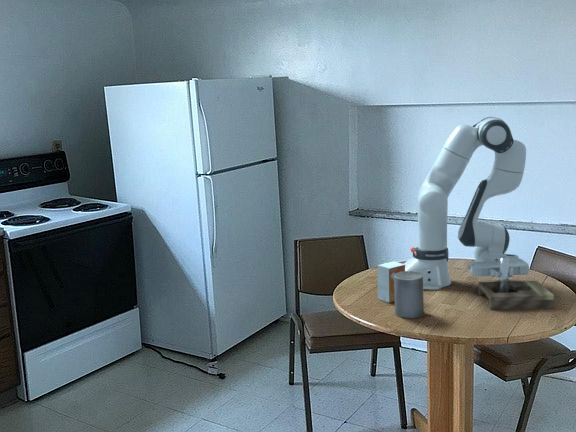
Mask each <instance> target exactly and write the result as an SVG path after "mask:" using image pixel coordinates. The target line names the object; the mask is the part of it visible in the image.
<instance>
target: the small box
mask: <svg viewBox="0 0 576 432" xmlns="http://www.w3.org/2000/svg"><path fill="white" fill-rule="evenodd" d="M404 271H405V264H404V263H401V262H398V261H394V260H393V261H389V262H385V263H382V264H381V263H380V264H378V265H377V300H381V301H383V302H385V303H393V302H394V303H395V291H394V275H395V274H396V273H399V272H404Z"/></svg>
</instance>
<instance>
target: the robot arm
mask: <svg viewBox="0 0 576 432" xmlns="http://www.w3.org/2000/svg"><path fill="white" fill-rule="evenodd" d="M481 146H484V147H485V148H487V149H489V150H492V151H493V152H494V162H493V166H492V168H491V171H490V173H489V175H488V176H487V177H486V179H482V180H481V181H480V183H479V184H478V186H477V188H476V190H475V192H474V194H473V197H472V199H471V201H470V203H469V207H468V209H467V211H466V214H465V216H464V218H463V220H462V222H461V224H460V226H459V229H458V231H457V238H458V240H459V242H460V243H461V245H463V246H464V247H469V248H471V247H472V248H474V247H475V249H474V251H473V255H474V256H473V257H474V260H475V261H473V262H471V263H470V264H467V266H466V269H468V270H470V274H471V276H472V277H494V278H500V277H501V276H500V274H501V273H500V257H509V278H510V277H511V278H512V277H514V276H523V275H524V276H525V275H529V272H530V265H529V263H528V262H526V261H525V260H524V259H523V258H519V255H518V254H517V255H516V254H508V253H506V252H507V250H508V248H509V245H510V241H511V240H510V234H509V231H508V230H507V227H506V226H505V225H503V224H498V223H493V222H492V223H489V222H484V221H478V219H479V217H480V215H481V212H482V210H483V208H484V205H485V203H486V202H487V201H488V200H489V199H491V198H494V197H496V196H501V195H506V194H509V193H512V192H514V191H516V190H517V188H518V187H520V185H521V182H522V180H523V176H524V172H525V167H526V159H527V148H526V145H525V144H524V143H523V142H522V141H520V140H517V139H514V138H513V134H512V131H511V129H510V126H509V125H508V123H506V122H505V120H503V119H501V118H499V117H494V116H488V117H484V118H483V119H481V120H480V121H478V122H477V123H475V124H474V125H469V124H459V125H457V126H456V127H455V128H454V129H453V130H452V132H451V133H450V135H449V136H448V137H447V139H446V141H445V143H444V145H443V146H442V148H441V150H440V152H439V154H438V156H437V157H436V160H435V161H434V163H433V165H432V167H431V169H430V170H429V172H428V174H427V176H426V177H425V179H424V181H423V183H422V185H421V186H420V188H419V190H418V193H417V247H415V246H411V247H410V251H411V252H410V253H412V257H410V258H409V259H408V260H406V261H405V262H404V263H403V264H405V271H413V272H419V273H421V274H422V275H423V290H433V291H435V290H441V289H442V288H445V287H448V286H450V285H451V284H452V280H451V276H450V272H449V265H448V263H449V252H450V251H449V247H448V209H449V208H448V207H449V206H448V204H449V203H448V200H449V199H448V198H449V196H450V195H451V193H452V192H453V190H454V188H455V187H456V185H457V184H458V182H459V181H460V179H461V177H462V175H463V174H464V172H465V169H467V166H468V164H469V163H470V160H471V158H472V157H473V154H474V153H475V152H476V150H477V149H478V148H479V147H481Z"/></svg>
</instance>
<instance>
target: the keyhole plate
mask: <svg viewBox="0 0 576 432" xmlns="http://www.w3.org/2000/svg"><path fill="white" fill-rule="evenodd" d="M499 287H500V281H480V282H478V296H480V297H481V296H482V297H487V298H488V301H489V302H488V303H489V305H488V308H489V309H490V311H496V310H498V311H499V310H526V309H527V310H528V309H529V310H530V309H554V306H555V305H554V303H555V295H554V294H553V293H552V292H551V291H549V289H548V288H546V287H545V286H544V285H542V283H540V282H539V281H538V280H512V281H511V280H509V286H508V293H497V292H499Z"/></svg>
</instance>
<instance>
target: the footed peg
mask: <svg viewBox="0 0 576 432" xmlns="http://www.w3.org/2000/svg"><path fill="white" fill-rule="evenodd" d="M500 273H501V274H500V276H501V277H499V282H500V287H499V292H497V293H508V286H509V281H510V280H509V278H510V277H509V257H500Z"/></svg>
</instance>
